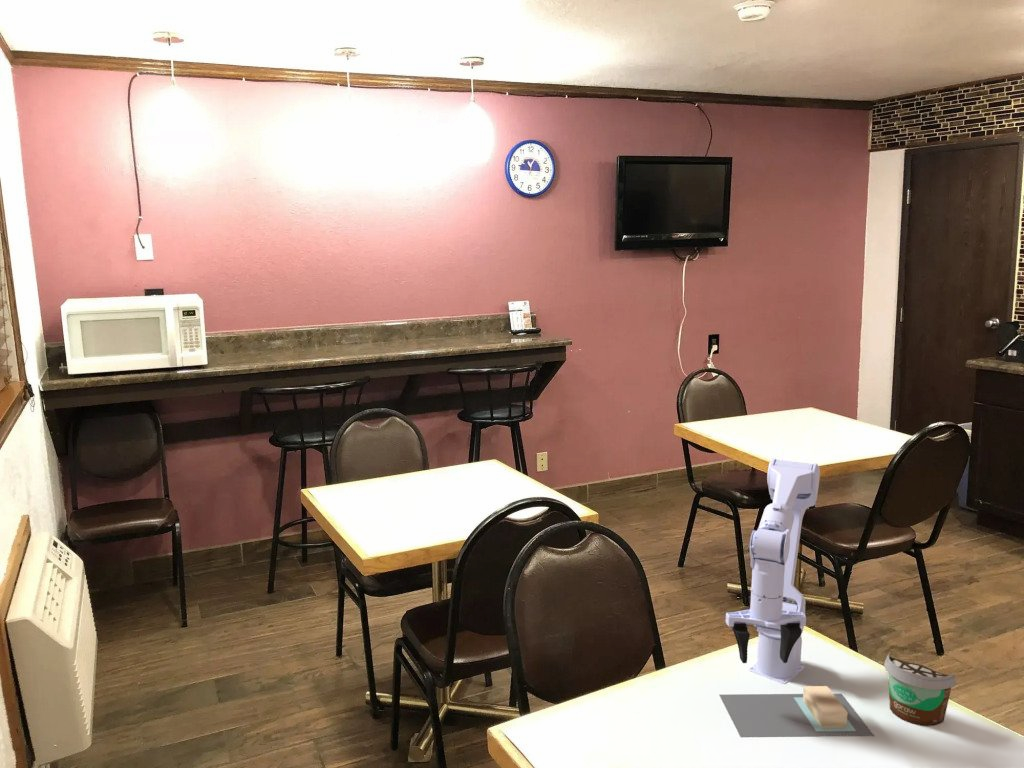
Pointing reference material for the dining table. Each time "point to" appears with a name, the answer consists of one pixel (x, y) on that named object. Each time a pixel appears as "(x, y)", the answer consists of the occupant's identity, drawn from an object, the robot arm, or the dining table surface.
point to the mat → (785, 717)
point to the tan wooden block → (825, 707)
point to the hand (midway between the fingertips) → (763, 660)
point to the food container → (918, 692)
